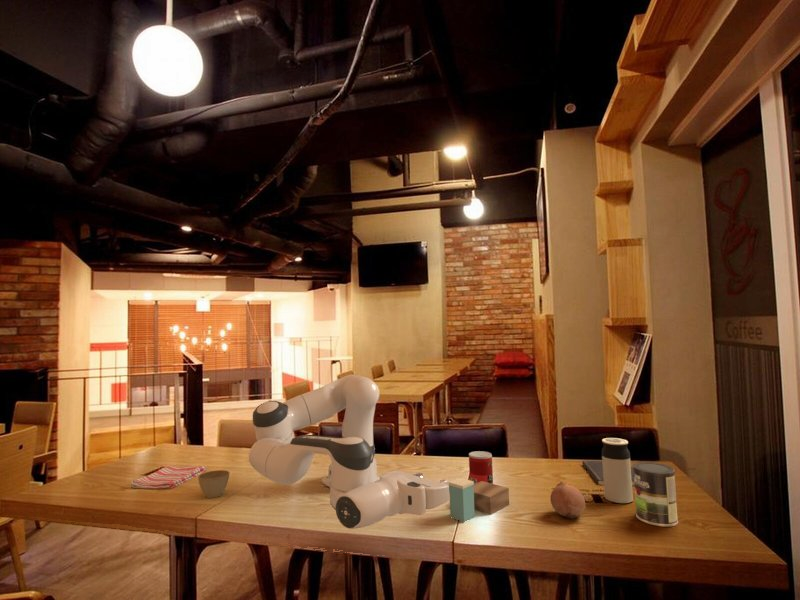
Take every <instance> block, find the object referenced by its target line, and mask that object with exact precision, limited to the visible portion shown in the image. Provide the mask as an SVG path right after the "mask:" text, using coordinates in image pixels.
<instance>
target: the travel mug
mask: <svg viewBox="0 0 800 600" xmlns="http://www.w3.org/2000/svg"><path fill="white" fill-rule="evenodd" d="M601 442H602V443H603V444H602V445H603V447H602V449H601V459H602V460H601V461H602V463H603V479H604V485H603V491H604V498H605V499H606V500H608V501H610V502H612V503H615V504H629V503H631V502H633V501H634V496H633V486H632V479H631V467H632V466H631V452H630V450H629V449H628V444H629V441H628V440H627V439H625V438H624V439H623V438H618V437H606V438H602V439H601Z"/></svg>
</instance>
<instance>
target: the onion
mask: <svg viewBox="0 0 800 600" xmlns="http://www.w3.org/2000/svg"><path fill="white" fill-rule="evenodd" d="M549 497H550V499H549V500H550V503H551V506H552V508H553V509H554V511H555V512H557V514H559V515H561V516H562V517H564V518H566V519H572V520H575V518H577V517H579V516H581V514H582V512H584V511H585V510H586V497H585V496H584V494H583V492H582V491H581V490H580V489H578V488H577V487H576V486H574V485H571V484H567V483H566V482H564V481H561V482H560V483H557V484H556V486H555V487H554V488H553V489H552V491H551V493H550V496H549Z"/></svg>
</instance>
